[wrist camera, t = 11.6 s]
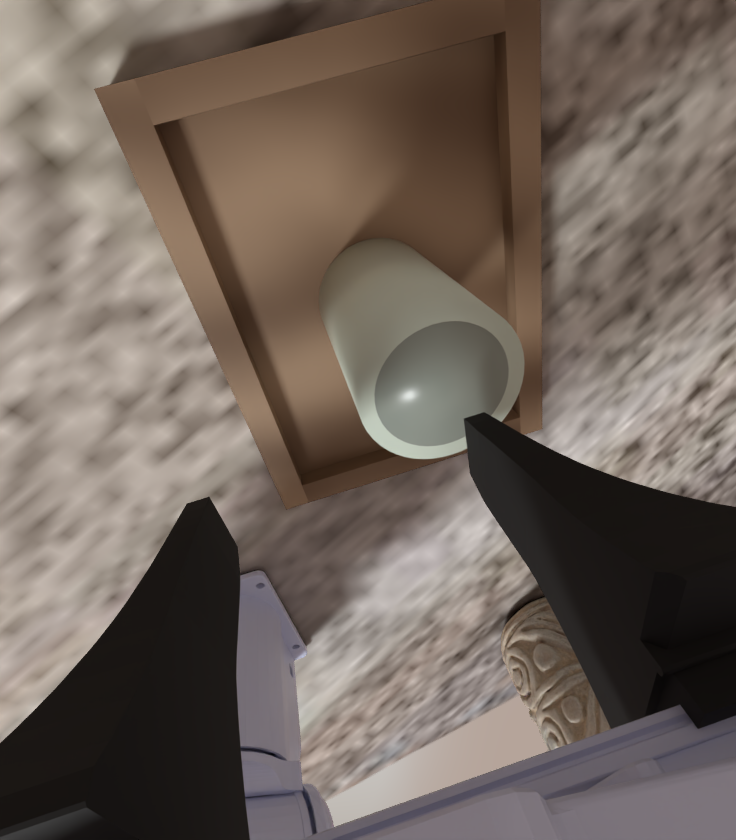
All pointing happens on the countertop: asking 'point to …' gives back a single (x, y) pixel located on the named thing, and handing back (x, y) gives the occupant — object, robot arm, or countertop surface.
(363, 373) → the cup
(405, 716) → the countertop surface
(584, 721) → the carving
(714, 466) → the countertop surface
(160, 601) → the robot arm
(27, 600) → the countertop surface
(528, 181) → the tray
